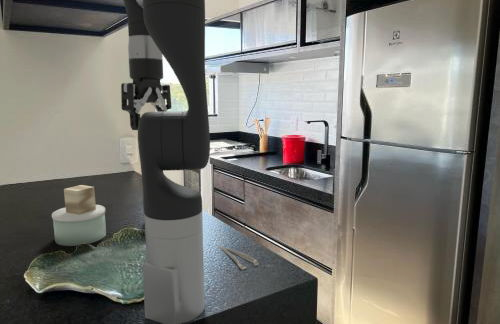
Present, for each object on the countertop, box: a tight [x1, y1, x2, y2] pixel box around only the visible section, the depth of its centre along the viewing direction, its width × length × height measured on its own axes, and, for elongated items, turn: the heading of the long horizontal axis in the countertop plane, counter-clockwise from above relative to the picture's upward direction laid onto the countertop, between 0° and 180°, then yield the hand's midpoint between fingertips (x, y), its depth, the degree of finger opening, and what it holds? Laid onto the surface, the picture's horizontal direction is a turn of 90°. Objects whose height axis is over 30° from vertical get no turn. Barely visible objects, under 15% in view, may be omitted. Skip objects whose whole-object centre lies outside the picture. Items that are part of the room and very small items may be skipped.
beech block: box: [63, 184, 97, 215], centre depth 95 cm, size 5×5×6 cm
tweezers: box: [217, 245, 260, 271], centre depth 86 cm, size 17×5×2 cm, turn 33°
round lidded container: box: [51, 204, 107, 247], centre depth 96 cm, size 12×12×7 cm
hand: (149, 128), depth 88 cm, fingers open, 8 cm apart
